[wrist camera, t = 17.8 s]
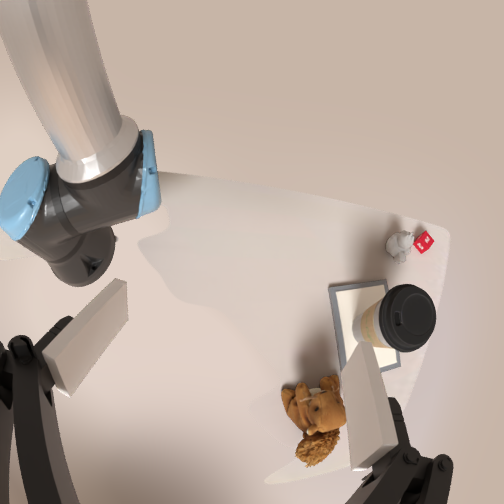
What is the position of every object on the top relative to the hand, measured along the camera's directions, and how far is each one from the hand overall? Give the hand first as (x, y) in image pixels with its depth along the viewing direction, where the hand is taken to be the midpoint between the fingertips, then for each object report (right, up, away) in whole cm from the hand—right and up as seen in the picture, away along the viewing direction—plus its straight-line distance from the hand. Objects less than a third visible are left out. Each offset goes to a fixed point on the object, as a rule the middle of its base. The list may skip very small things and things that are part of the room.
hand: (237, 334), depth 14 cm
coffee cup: (+21, -9, +31) cm, 38 cm away
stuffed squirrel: (+11, -23, +26) cm, 36 cm away
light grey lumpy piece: (+29, +4, +38) cm, 48 cm away
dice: (+37, +6, +39) cm, 54 cm away
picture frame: (+21, -10, +32) cm, 39 cm away
